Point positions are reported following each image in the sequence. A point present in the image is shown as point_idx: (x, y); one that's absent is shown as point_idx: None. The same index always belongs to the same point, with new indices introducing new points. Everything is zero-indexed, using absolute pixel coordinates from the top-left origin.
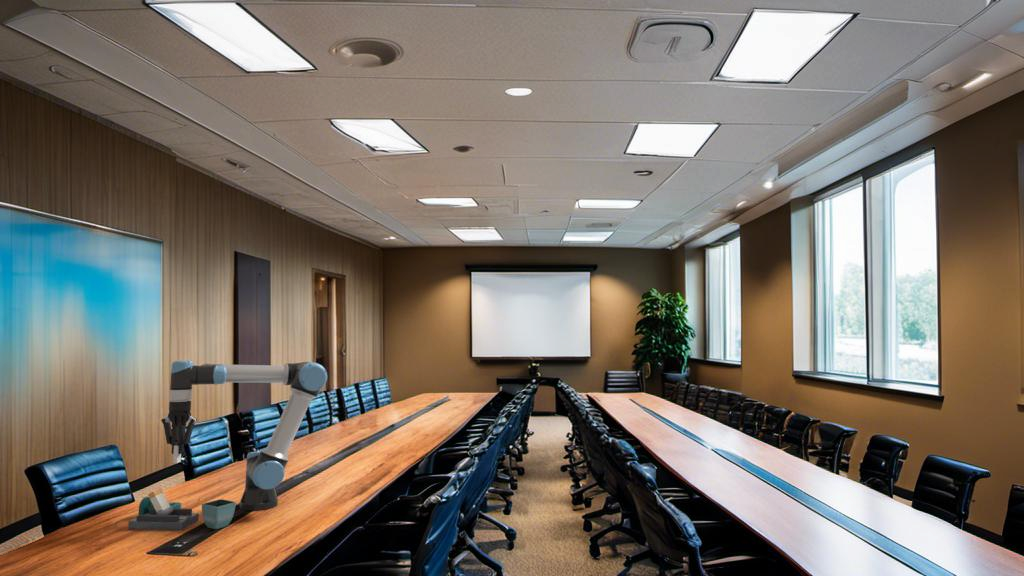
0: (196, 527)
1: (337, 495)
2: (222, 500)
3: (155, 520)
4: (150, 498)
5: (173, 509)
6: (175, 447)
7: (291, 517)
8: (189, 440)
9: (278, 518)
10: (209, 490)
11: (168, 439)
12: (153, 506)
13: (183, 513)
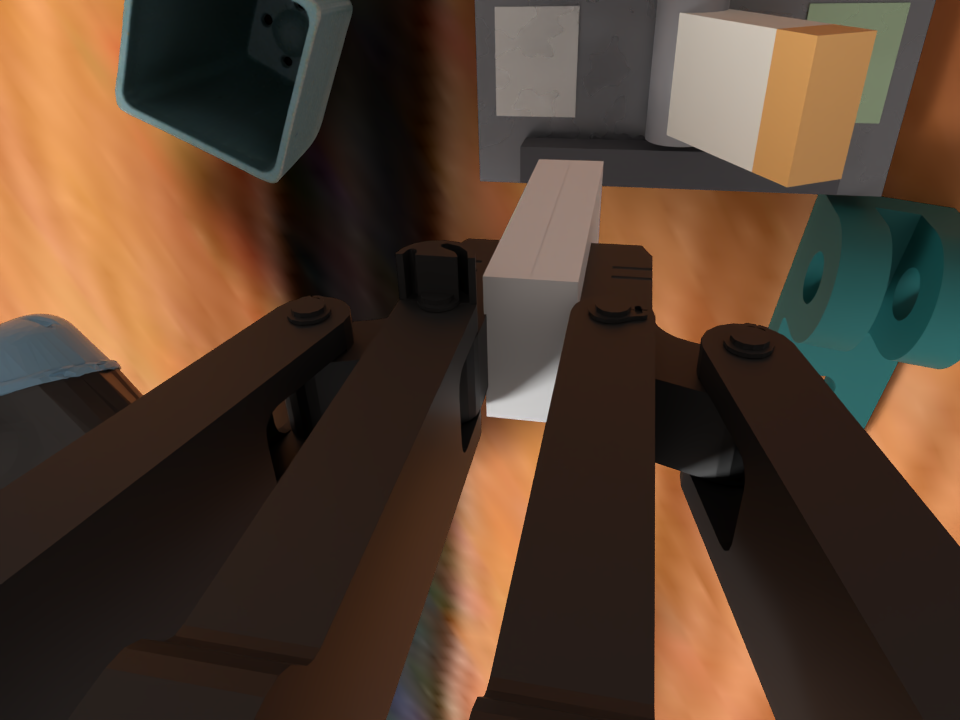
0: (424, 13)
1: None
2: (254, 164)
3: None
4: (830, 24)
5: (653, 157)
6: (543, 265)
7: (36, 248)
8: (280, 446)
9: (83, 229)
10: (724, 716)
11: (758, 390)
12: (853, 225)
13: (569, 140)
